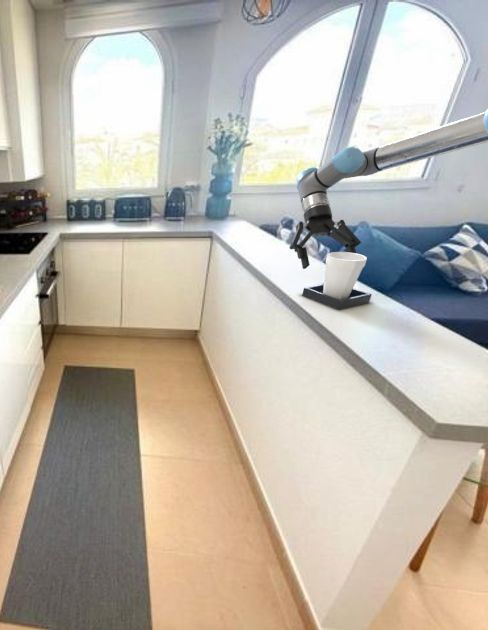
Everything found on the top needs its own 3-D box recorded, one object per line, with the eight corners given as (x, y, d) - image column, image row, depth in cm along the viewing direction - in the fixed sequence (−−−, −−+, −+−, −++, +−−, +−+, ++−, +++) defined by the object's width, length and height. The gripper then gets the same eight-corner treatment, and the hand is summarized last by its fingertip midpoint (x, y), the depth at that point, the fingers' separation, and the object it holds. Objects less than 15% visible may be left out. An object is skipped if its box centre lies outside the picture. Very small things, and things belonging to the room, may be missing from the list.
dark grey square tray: (369, 302, 104) (372, 294, 102) (338, 309, 101) (340, 301, 100) (330, 289, 114) (333, 281, 113) (301, 295, 111) (303, 287, 110)
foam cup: (338, 289, 111) (349, 250, 106) (361, 300, 103) (375, 259, 97) (309, 292, 111) (319, 253, 106) (331, 303, 103) (343, 262, 97)
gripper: (349, 215, 118) (364, 270, 112) (272, 218, 122) (282, 272, 115) (364, 201, 111) (381, 259, 105) (281, 205, 115) (292, 262, 108)
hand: (329, 266), depth 110 cm, fingers open, 13 cm apart
